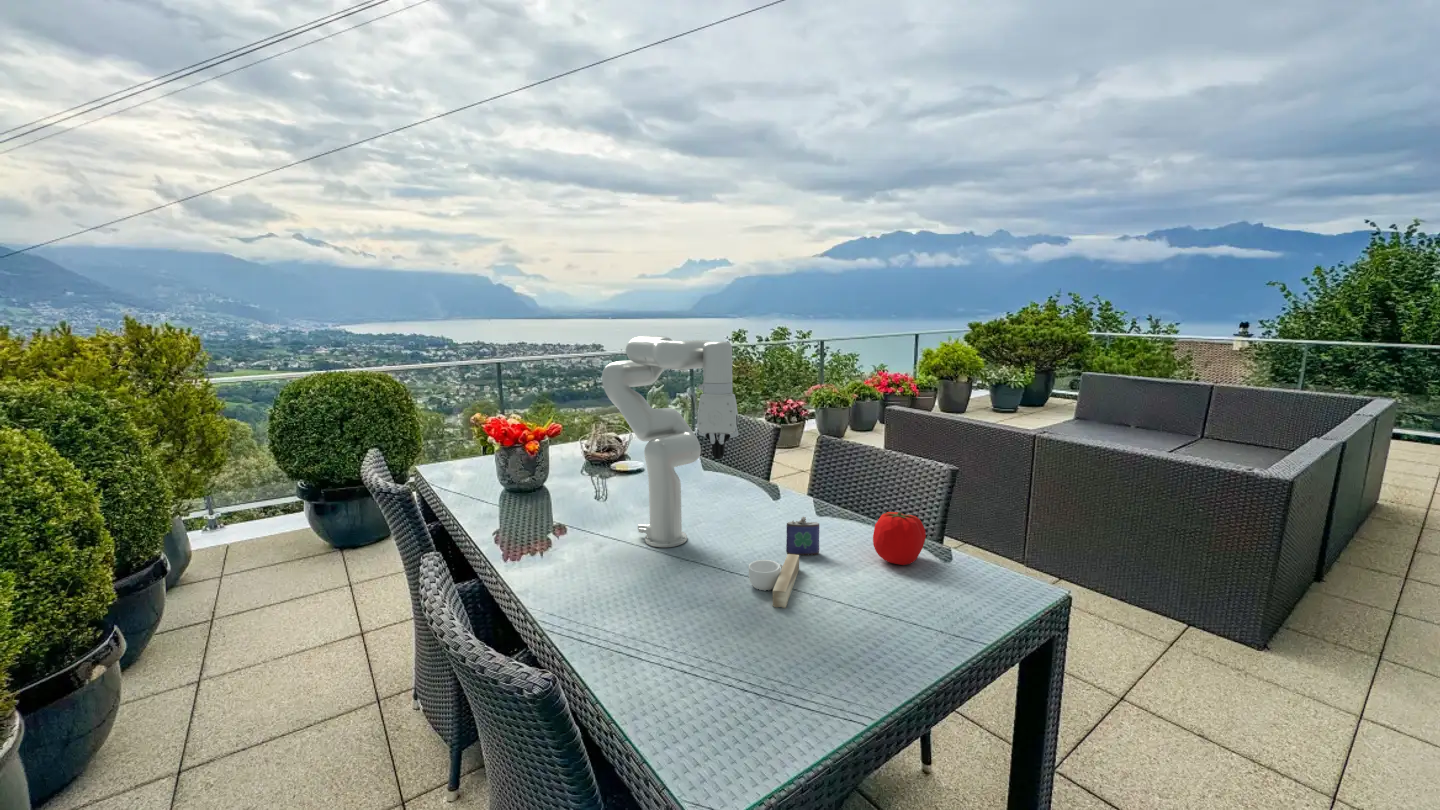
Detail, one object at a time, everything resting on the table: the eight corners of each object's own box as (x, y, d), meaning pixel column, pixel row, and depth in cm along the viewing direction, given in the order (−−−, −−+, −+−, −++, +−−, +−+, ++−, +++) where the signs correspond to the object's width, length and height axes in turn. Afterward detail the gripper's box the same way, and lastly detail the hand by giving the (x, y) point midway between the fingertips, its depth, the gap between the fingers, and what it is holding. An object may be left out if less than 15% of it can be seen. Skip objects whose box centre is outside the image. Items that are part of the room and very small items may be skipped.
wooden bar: (772, 606, 134) (772, 590, 133) (787, 568, 155) (787, 553, 154) (785, 608, 133) (785, 591, 132) (799, 569, 154) (799, 554, 153)
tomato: (893, 574, 150) (895, 523, 148) (859, 555, 162) (861, 508, 161) (939, 564, 156) (941, 515, 154) (904, 546, 169) (905, 501, 167)
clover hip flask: (818, 551, 166) (819, 515, 164) (819, 556, 163) (820, 519, 161) (785, 551, 166) (786, 515, 165) (786, 555, 163) (786, 518, 162)
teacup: (762, 597, 139) (762, 575, 138) (742, 585, 145) (742, 564, 144) (793, 585, 144) (793, 564, 144) (772, 575, 151) (772, 555, 150)
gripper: (686, 390, 150) (687, 459, 153) (742, 391, 147) (742, 462, 149) (695, 387, 158) (696, 453, 160) (749, 388, 154) (749, 456, 156)
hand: (718, 457), depth 155 cm, fingers closed
